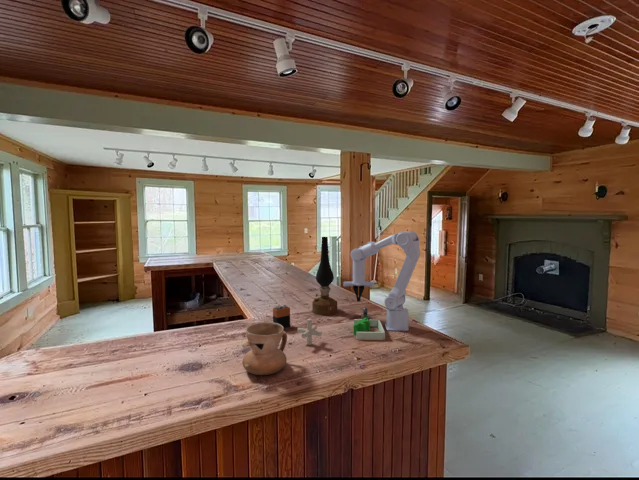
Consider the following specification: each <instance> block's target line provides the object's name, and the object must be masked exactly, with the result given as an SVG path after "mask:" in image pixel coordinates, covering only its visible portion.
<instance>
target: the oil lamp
mask: <svg viewBox="0 0 639 480" xmlns="http://www.w3.org/2000/svg"><path fill="white" fill-rule="evenodd" d="M328 239H329V237H328V236H322V237H321V249H320V261H319V266H318V269H317V271H316V274H315V280H316V282H317V283H318V285H320V287H318V290H319V292H320V294H319V295H318V293H316V294H315V298H313V299H314V300H313V301H311V302H312V303H311V305H312V309H311V312H312V313H313V314H315V315H318V316H333V315H335V314H337V313H338V312H339V310H338V301H337V300H336V299H335V298H332V297H330V291H331V287H330V285H331V284H333V282H334V280H335V276H334V272H333V270H332V267H331V264H330V257H329V240H328ZM318 296H319V297H318ZM316 297H317V298H316Z"/></svg>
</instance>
